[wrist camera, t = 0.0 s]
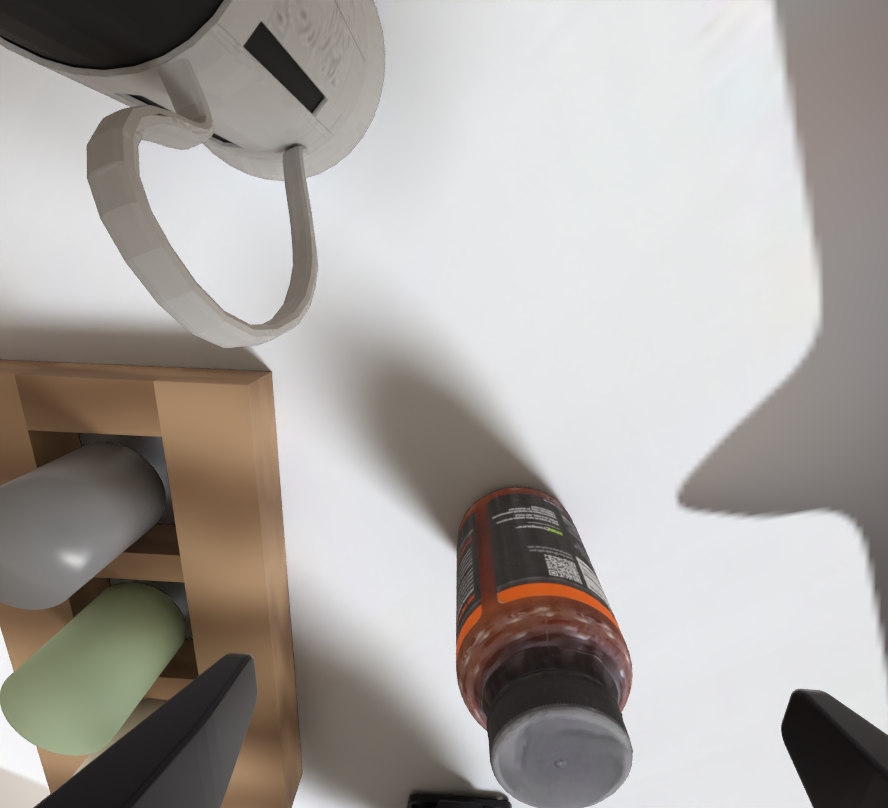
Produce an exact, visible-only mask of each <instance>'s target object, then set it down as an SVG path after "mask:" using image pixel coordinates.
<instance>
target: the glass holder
mask: <svg viewBox="0 0 888 808" xmlns="http://www.w3.org/2000/svg"><path fill="white" fill-rule="evenodd" d="M0 44H1V45H2V46H4V47H5V48H7V49H9V50H11V51H13V52H16V53H18V54H20V55H22V56H24V57H26V58H28V59H30V60H32V61H34V62H36V63H38V64H40V65H42V66H44V67H47V68H49V69H51V70H53V71H55V72H57V73H59V74H62V75H64V76H66V77H68V78H70V79H72V80H74V81H77V82H79V83H81V84H83V85H85V86H87V87H89V88H92V89H94V90H96V91H98V92H100V93H102V94H104V95H107V96H109V97H111V98H113V99H115V100H117V101H119V102H122V103H124V104H126V105H128V106H130V108H125V109H122V110H119V111H117V112H115V113H113V114H111V115H109V116H107V117H105V118H103V120H102V121H101V122H100V124H99V125H98V127H97V129H96V130H95V132H94V134H93V136H92V137H91V139H90V141H89V142H88V144H87V179H88V182H89V185H90V188H91V191H92V194H93V197H94V200H95V203H96V206H97V209H98V212H99V216H100V219H101V220H102V222H103V224H104V226H105V227H106V229H107V231H108V233H109V234H110V236H111V238H112V239H113V241H114V243H115V245H116V246H117V248H118V250H119V252H120V253H121V255H122V257H123V259H124V260H125V262H126V263H127V265H128V266H129V267H130V268H131V270H132V271H133V272H134V274H135V275H136V276H137V277H138V279H139V280H140V281H141V283H142V284H143V285H144V286H145V288H146V289H147V290H148V292H149V293H150V294H151V295H152V297H153V298H154V299H155V300H156V302H157V303H158V304H159V305H160V306H161V307H162V308H163V309H164V310H166V311H167V312H168V313H169V314H170V315H171V316H172V317H174V318H175V319H176V320H177V321H178V322H179V323H180V324H181V325H183V326H184V327H185V328H186V329H187V330H188V331H189V332H191V333H192V334H193V335H195V336H197V337H200V338H202V339H204V340H207V341H209V342H211V343H213V344H216V345H218V346H220V347H223V348H233V347H245V346H256V345H260V344H262V343H265V342H268V341H270V340H273V339H275V338H276V337H278V336H280V335H282V334H283V333H285V332H287V331H289V330H291V329H292V328H294V327H295V326H296V325H298V324H299V322H300V321H301V319H302V318H303V316H304V315H305V313H306V312H307V310H308V308H309V307H310V305H311V301H312V298H313V294H314V290H315V286H316V279H317V271H318V260H317V250H316V242H315V235H314V227H313V220H312V212H311V207H310V201H309V195H308V189H307V182H306V178H307V177H310V176H314V175H317V174H320V173H321V172H323V171H325V170H327V169H329V168H331V167H332V166H334V165H336V164H337V163H338V162H339V161H341V160H342V159H343V158H344V157H345V156H347V155H348V154H349V153H350V152H351V151H352V150H353V148H354V147H355V146H356V145H357V144H358V142H359V141H360V140H361V139H362V137H363V136H364V134H365V132H366V130H367V129H368V127H369V125H370V123H371V122H372V120H373V117H374V114H375V112H376V109H377V106H378V103H379V101H380V96H381V91H382V86H383V81H384V68H385V50H384V40H383V31H382V27H381V23H380V20H379V16H378V12H377V8H376V6H375V3H374V1H373V0H0ZM141 140H146V141H151V142H154V143H157V144H160V145H163V146H166V147H170V148H175V149H180V150H183V149H190V148H192V147H194V146H196V145H199V144H201V143H203V144H204V145H205V146H206V147H207V148H208V149H209V150H210V151H211V152H212V153H213V154H215V155H216V156H218V157H219V158H220V159H222V160H223V161H225V162H226V163H227V164H229V165H230V166H232V167H234V168H236V169H238V170H240V171H242V172H244V173H246V174H249V175H252V176H256V177H259V178H263V179H268V180H279V181H285V188H286V195H287V202H288V208H289V215H290V224H291V235H292V247H293V269H292V275H291V281H290V286H289V289H288V292H287V295H286V298H285V301H284V304H283V306H282V307H281V308H280V310H279V311H278V312H277V313H276V315H275V316H274V317H273V319H271V320H270V321H268V322H266V323H264V324H262V325H250V324H248V323H246V322H244V321H242V320H240V319H238V318H237V317H235V316H233V315H231V314H229V313H227V312H225V311H224V310H223V309H222V308H221V307H220V306H219V305H218V304H217V303H216V302H215V301H214V300H213V299H212V298H211V297H210V296H209V295H208V294H207V293H206V292H205V291H204V290H203V289H202V288H201V287H200V285H199V284H198V283H197V282H196V281H195V280H194V278H193V277H192V275H191V274H190V272H189V271H188V270H187V268H186V267H185V265H184V264H183V262H182V261H181V260H180V258H179V257H178V255H177V254H176V252H175V251H174V250H173V248H172V247H171V245H170V243H169V242H168V240H167V238H166V236H165V234H164V233H163V231H162V229H161V227H160V225H159V224H158V222H157V220H156V218H155V216H154V215H153V213H152V211H151V209H150V206H149V203H148V200H147V197H146V194H145V191H144V188H143V185H142V182H141V179H140V175H139V156H138V145H139V143H140V141H141Z"/></svg>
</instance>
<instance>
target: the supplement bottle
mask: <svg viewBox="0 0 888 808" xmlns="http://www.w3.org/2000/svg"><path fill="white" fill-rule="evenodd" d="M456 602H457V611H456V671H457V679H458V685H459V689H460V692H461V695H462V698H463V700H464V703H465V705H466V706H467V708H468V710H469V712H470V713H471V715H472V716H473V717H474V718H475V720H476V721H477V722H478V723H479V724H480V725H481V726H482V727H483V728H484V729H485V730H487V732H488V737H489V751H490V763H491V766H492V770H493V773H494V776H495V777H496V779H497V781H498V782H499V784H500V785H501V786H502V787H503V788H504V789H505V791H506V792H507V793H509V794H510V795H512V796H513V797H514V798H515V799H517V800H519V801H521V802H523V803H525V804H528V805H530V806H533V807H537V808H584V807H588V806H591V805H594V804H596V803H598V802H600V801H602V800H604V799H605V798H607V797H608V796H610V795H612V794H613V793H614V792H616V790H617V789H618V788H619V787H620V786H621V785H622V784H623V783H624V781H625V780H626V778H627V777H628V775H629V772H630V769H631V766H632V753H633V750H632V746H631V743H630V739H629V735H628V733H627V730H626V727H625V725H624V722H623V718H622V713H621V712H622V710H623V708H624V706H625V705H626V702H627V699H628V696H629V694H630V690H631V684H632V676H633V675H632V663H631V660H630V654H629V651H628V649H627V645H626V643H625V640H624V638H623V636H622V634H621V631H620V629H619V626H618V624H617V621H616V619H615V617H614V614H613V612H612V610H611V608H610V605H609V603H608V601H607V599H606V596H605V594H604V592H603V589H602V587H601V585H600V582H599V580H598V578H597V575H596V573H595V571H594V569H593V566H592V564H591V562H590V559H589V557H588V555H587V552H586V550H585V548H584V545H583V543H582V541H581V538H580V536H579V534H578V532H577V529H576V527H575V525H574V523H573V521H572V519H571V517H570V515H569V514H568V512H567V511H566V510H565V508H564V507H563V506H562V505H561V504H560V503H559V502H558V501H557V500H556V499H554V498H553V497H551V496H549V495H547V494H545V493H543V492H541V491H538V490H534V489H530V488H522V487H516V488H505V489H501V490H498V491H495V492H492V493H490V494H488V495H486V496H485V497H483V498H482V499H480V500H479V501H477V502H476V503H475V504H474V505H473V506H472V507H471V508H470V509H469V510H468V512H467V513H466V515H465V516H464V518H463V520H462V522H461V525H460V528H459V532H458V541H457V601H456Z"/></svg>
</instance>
